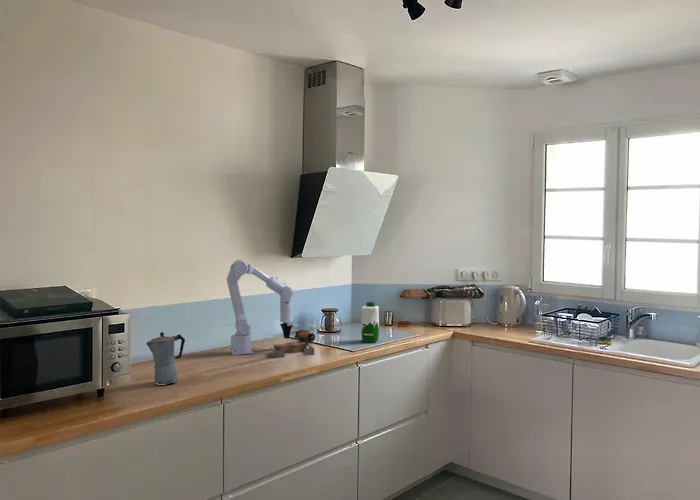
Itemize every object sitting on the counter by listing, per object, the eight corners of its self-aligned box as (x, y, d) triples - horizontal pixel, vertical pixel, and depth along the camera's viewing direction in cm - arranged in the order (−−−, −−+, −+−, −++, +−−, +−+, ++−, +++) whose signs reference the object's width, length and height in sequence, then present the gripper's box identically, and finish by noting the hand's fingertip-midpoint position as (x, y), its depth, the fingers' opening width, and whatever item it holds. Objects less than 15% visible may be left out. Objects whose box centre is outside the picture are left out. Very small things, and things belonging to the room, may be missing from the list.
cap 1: (274, 358, 261) (274, 351, 261) (271, 354, 268) (271, 348, 268) (284, 357, 263) (284, 350, 263) (281, 354, 269) (281, 347, 269)
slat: (275, 355, 269) (275, 346, 269) (273, 353, 273) (273, 344, 272) (306, 352, 274) (306, 343, 273) (304, 350, 277) (304, 342, 277)
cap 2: (304, 355, 266) (304, 348, 266) (301, 352, 272) (300, 346, 272) (314, 354, 268) (313, 348, 267) (310, 351, 274) (310, 345, 274)
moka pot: (142, 384, 222) (140, 333, 221) (179, 376, 232) (177, 327, 231) (153, 389, 215) (152, 336, 214) (190, 380, 226) (189, 330, 225)
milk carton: (380, 339, 298) (379, 301, 297) (376, 343, 289) (376, 304, 288) (363, 339, 300) (363, 301, 299) (360, 343, 291) (359, 303, 290)
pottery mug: (290, 347, 286) (290, 331, 290) (300, 351, 294) (299, 336, 298) (312, 342, 282) (311, 326, 286) (320, 347, 290) (320, 331, 294)
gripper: (297, 312, 273) (298, 340, 274) (290, 307, 287) (291, 334, 288) (283, 313, 271) (283, 341, 272) (276, 308, 285) (277, 335, 285)
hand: (286, 338), depth 279 cm, fingers closed
